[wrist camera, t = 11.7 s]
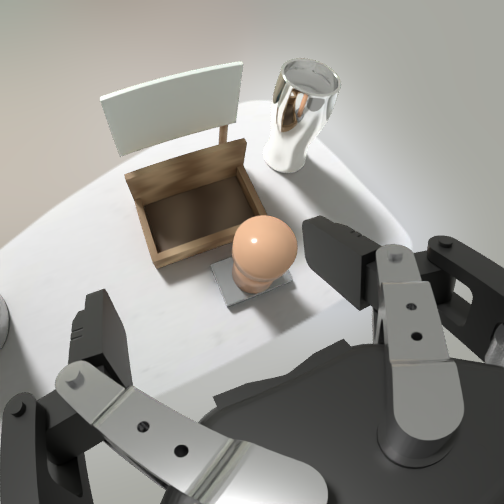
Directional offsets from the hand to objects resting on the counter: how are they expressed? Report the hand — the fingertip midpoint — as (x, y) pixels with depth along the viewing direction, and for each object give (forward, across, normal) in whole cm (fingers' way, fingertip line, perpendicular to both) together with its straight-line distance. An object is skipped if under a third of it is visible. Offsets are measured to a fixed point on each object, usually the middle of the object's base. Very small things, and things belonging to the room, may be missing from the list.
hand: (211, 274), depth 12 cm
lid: (+27, -4, -2) cm, 27 cm away
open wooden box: (+28, -4, +6) cm, 29 cm away
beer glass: (+30, -18, +4) cm, 35 cm away
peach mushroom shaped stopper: (+19, -7, +13) cm, 24 cm away
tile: (+20, -7, +14) cm, 25 cm away
